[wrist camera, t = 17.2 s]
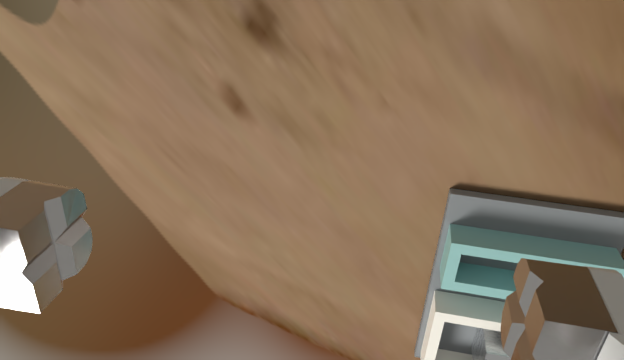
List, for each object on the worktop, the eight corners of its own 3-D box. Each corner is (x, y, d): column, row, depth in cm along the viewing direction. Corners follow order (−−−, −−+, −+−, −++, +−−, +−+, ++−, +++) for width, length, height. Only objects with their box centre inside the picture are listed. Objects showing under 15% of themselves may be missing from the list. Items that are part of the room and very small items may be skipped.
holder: (631, 213, 43) (650, 240, 39) (561, 376, 52) (571, 409, 49) (449, 188, 45) (452, 211, 41) (414, 349, 54) (414, 379, 51)
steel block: (529, 322, 49) (539, 362, 44) (517, 355, 51) (525, 396, 47) (480, 313, 49) (486, 353, 45) (471, 346, 52) (475, 387, 47)
